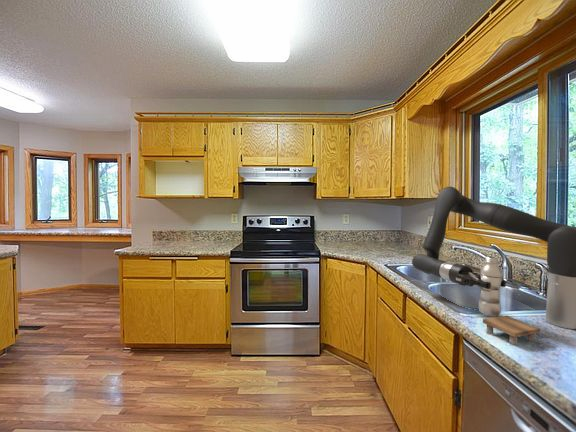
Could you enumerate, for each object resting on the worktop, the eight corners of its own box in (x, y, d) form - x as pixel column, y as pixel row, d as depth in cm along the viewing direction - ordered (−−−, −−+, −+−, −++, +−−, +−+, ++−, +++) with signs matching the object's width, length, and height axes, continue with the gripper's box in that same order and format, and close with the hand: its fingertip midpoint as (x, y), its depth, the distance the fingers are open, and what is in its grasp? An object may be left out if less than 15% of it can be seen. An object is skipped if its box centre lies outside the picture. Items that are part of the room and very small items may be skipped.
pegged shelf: (505, 328, 96) (506, 315, 96) (539, 342, 86) (540, 328, 86) (482, 331, 93) (482, 319, 93) (514, 347, 84) (515, 332, 83)
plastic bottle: (494, 311, 103) (496, 255, 101) (505, 319, 96) (508, 259, 95) (474, 310, 104) (476, 255, 103) (483, 318, 97) (486, 258, 96)
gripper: (440, 264, 111) (481, 275, 95) (470, 262, 115) (514, 272, 99) (440, 284, 111) (480, 298, 95) (469, 280, 115) (513, 294, 99)
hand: (497, 285), depth 97 cm, fingers closed on plastic bottle, 6 cm apart
